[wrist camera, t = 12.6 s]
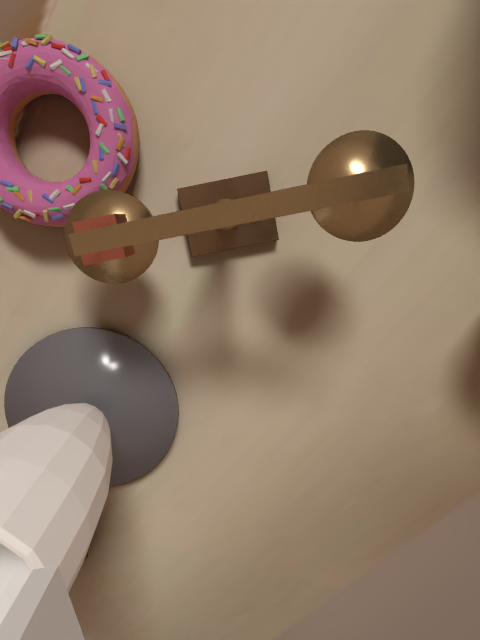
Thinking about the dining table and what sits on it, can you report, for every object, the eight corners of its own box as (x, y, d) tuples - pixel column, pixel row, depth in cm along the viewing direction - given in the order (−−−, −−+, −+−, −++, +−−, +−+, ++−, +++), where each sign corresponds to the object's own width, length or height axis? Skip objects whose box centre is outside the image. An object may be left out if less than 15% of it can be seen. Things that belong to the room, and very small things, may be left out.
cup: (59, 468, 44) (-100, 698, 23) (25, 374, 41) (-188, 536, 21) (158, 447, 43) (88, 662, 23) (129, 351, 41) (20, 492, 20)
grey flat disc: (-13, 343, 42) (-20, 347, 41) (157, 310, 41) (155, 313, 40) (39, 493, 46) (34, 500, 45) (195, 465, 45) (194, 471, 44)
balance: (106, 278, 41) (15, 322, 24) (85, 202, 39) (-27, 193, 22) (368, 226, 40) (467, 234, 23) (359, 147, 38) (457, 93, 21)
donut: (175, 170, 39) (167, 163, 34) (49, 255, 40) (23, 261, 35) (77, 15, 36) (52, -17, 31) (-55, 114, 37) (-98, 99, 32)
